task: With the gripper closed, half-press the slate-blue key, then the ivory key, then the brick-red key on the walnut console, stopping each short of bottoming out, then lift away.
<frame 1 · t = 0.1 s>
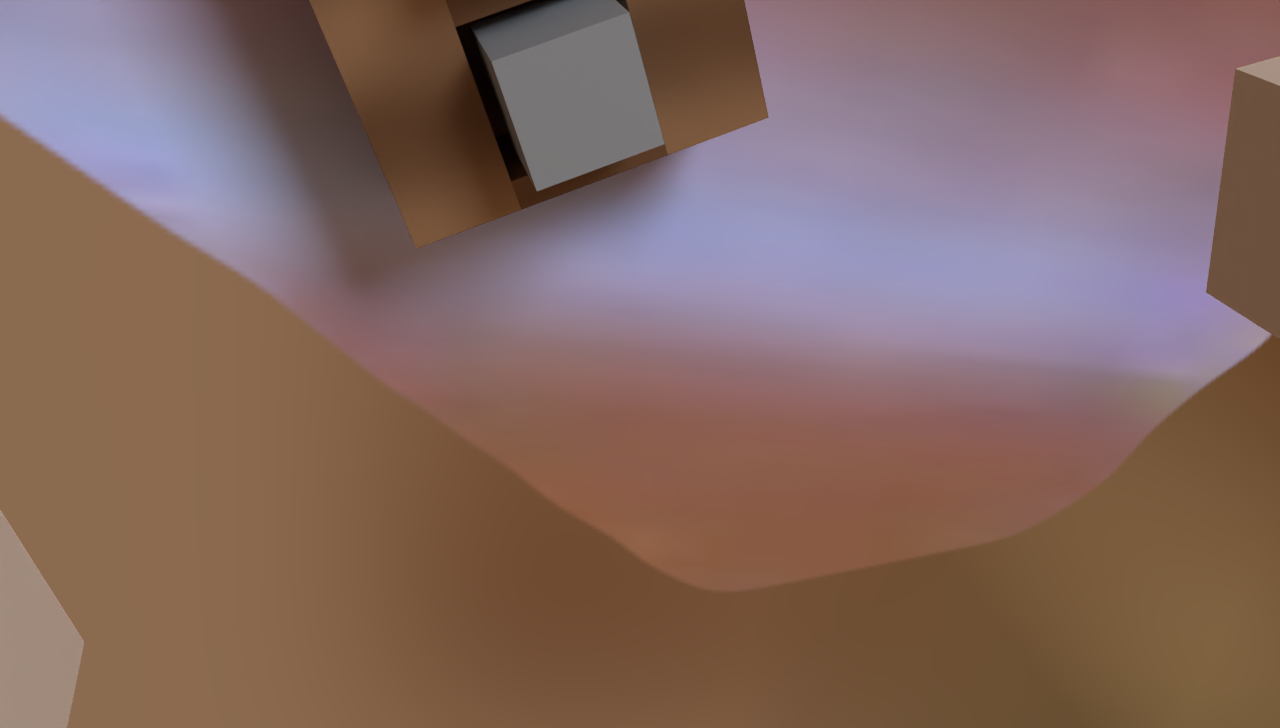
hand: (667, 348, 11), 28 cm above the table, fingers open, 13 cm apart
slate key: (566, 84, 33), point 5 cm above the table, slide at 0.0 cm
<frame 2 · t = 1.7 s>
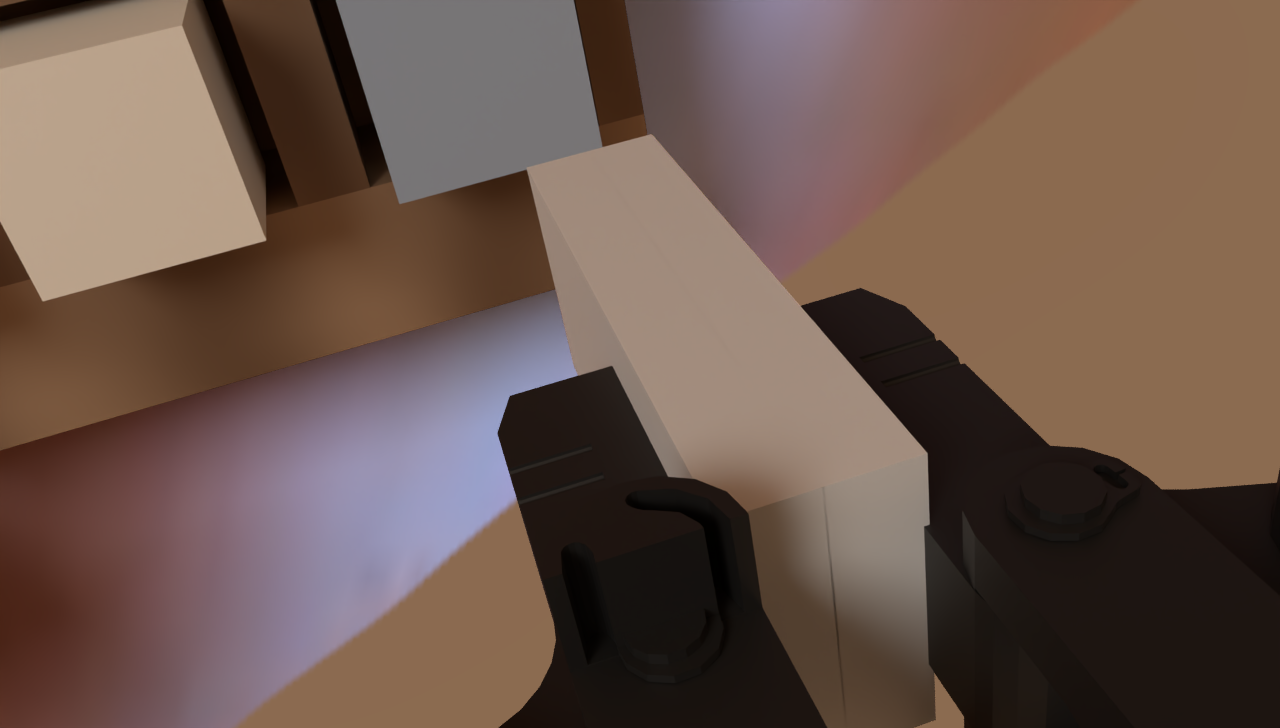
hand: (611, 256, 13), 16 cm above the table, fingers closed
ivory key: (121, 132, 21), point 6 cm above the table, slide at 0.0 cm
slate key: (460, 46, 22), point 5 cm above the table, slide at 0.0 cm
console: (146, 54, 25), on the table
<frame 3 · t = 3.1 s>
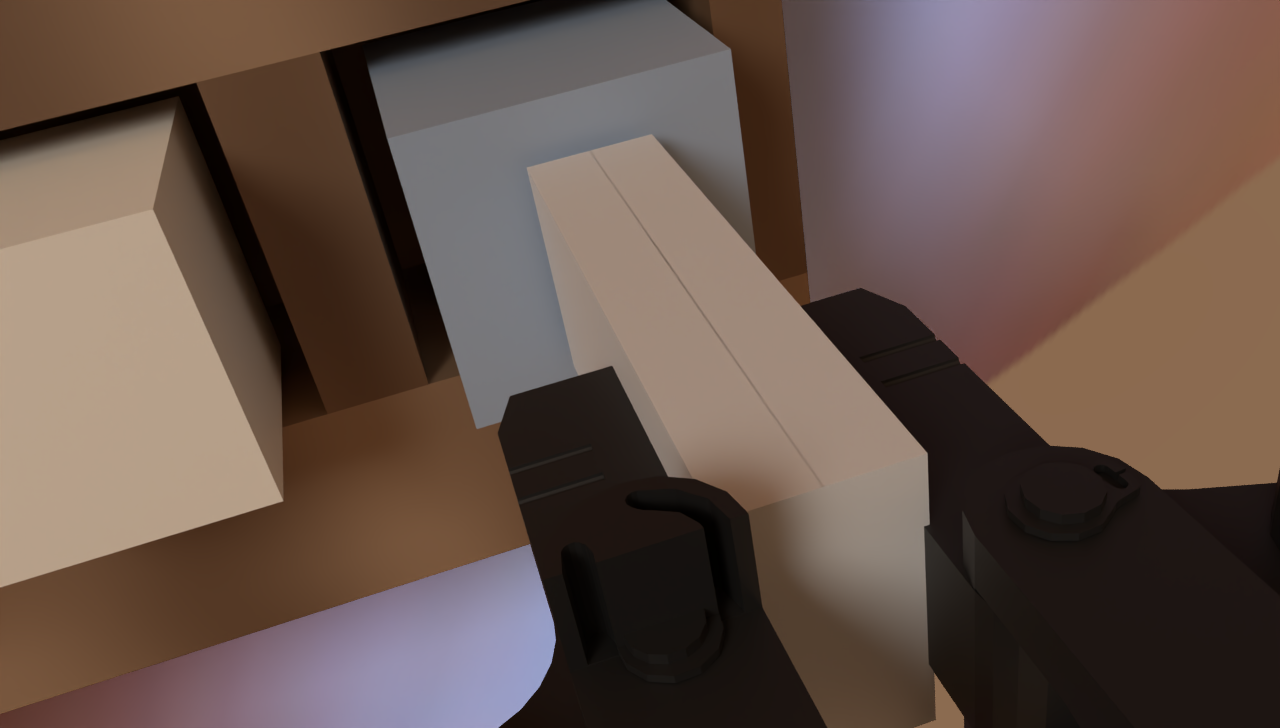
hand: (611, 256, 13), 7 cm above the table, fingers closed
ivory key: (69, 334, 14), point 6 cm above the table, slide at 0.0 cm
slate key: (560, 190, 15), point 5 cm above the table, slide at 0.3 cm, touching gripper
console: (118, 179, 19), on the table
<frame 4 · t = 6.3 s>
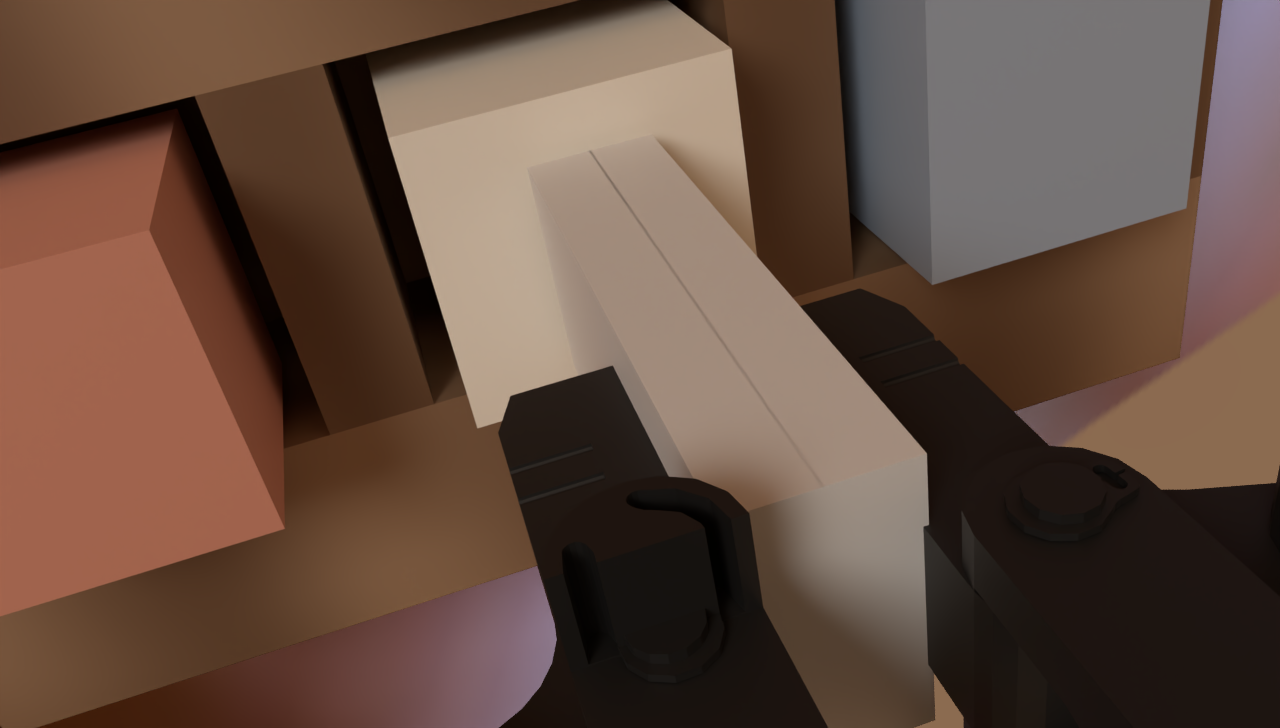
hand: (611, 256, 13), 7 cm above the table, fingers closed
ivory key: (561, 189, 15), point 5 cm above the table, slide at 0.9 cm, touching gripper
slate key: (986, 69, 16), point 5 cm above the table, slide at 1.0 cm
console: (502, 91, 19), on the table
brick key: (63, 355, 14), point 6 cm above the table, slide at 0.0 cm
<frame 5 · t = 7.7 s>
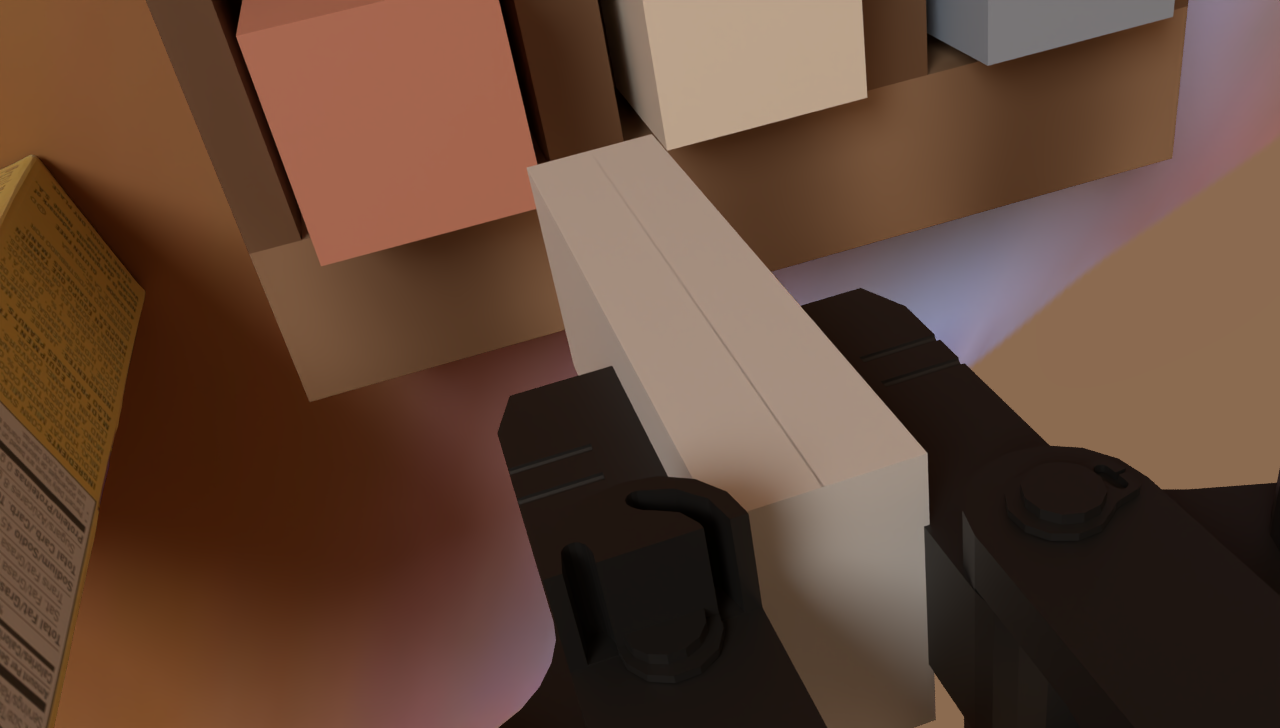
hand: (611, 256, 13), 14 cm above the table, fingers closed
brick key: (394, 90, 20), point 6 cm above the table, slide at 0.0 cm
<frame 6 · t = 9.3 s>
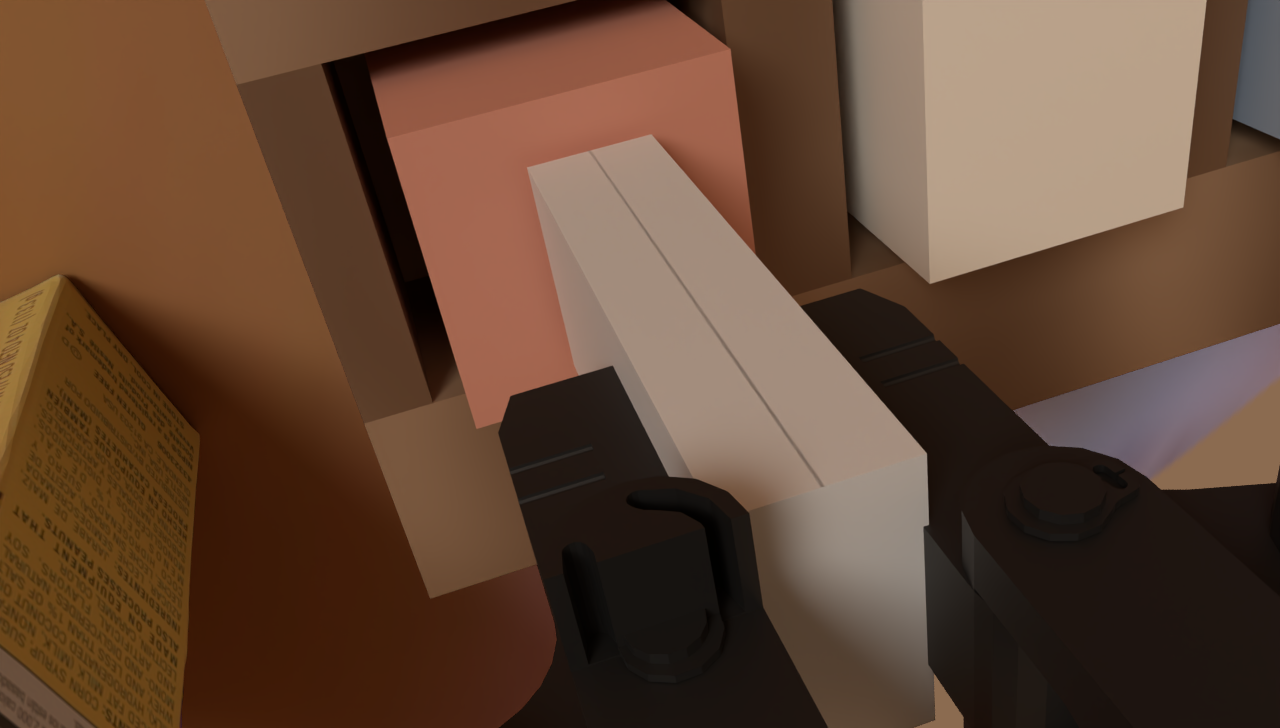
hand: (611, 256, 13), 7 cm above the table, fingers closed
ivory key: (984, 69, 16), point 5 cm above the table, slide at 1.0 cm
console: (851, 0, 20), on the table
brick key: (560, 190, 15), point 5 cm above the table, slide at 0.8 cm, touching gripper
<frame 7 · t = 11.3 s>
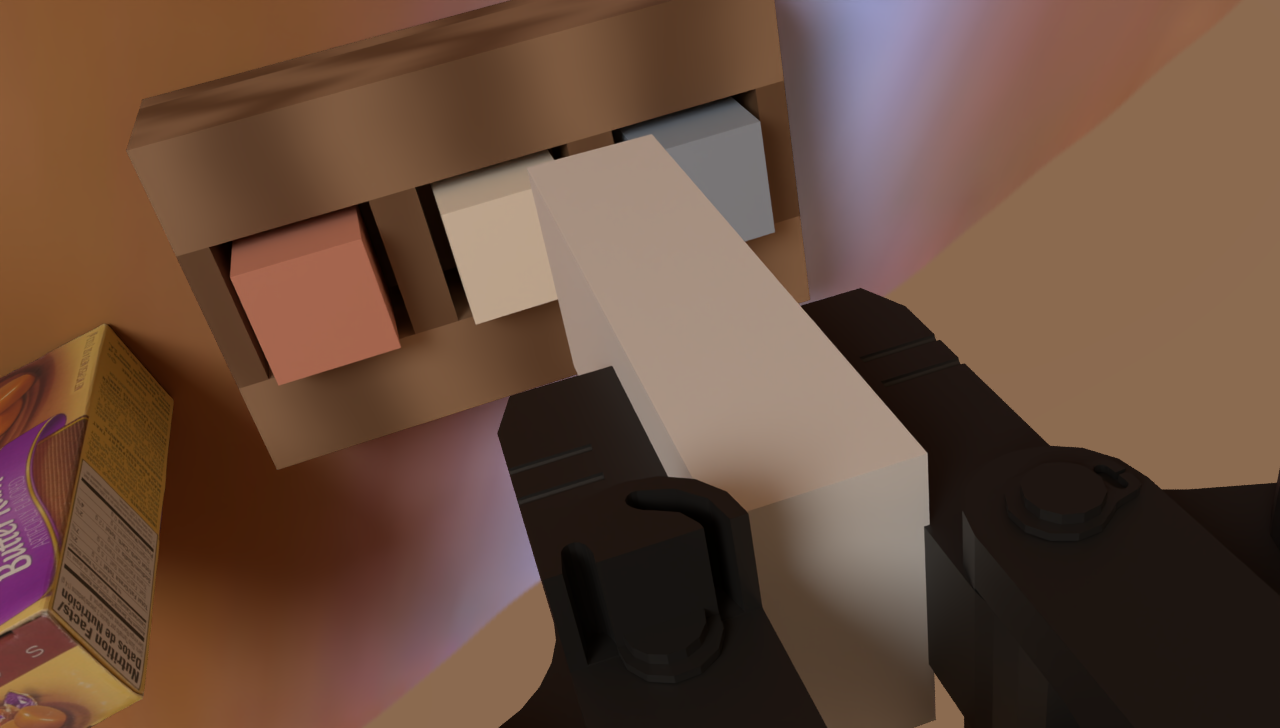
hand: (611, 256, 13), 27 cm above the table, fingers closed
ivory key: (508, 228, 37), point 5 cm above the table, slide at 1.0 cm
candy box: (40, 415, 41), on the table
slate key: (691, 174, 38), point 5 cm above the table, slide at 1.0 cm
console: (486, 180, 41), on the table
brick key: (316, 286, 36), point 5 cm above the table, slide at 1.0 cm
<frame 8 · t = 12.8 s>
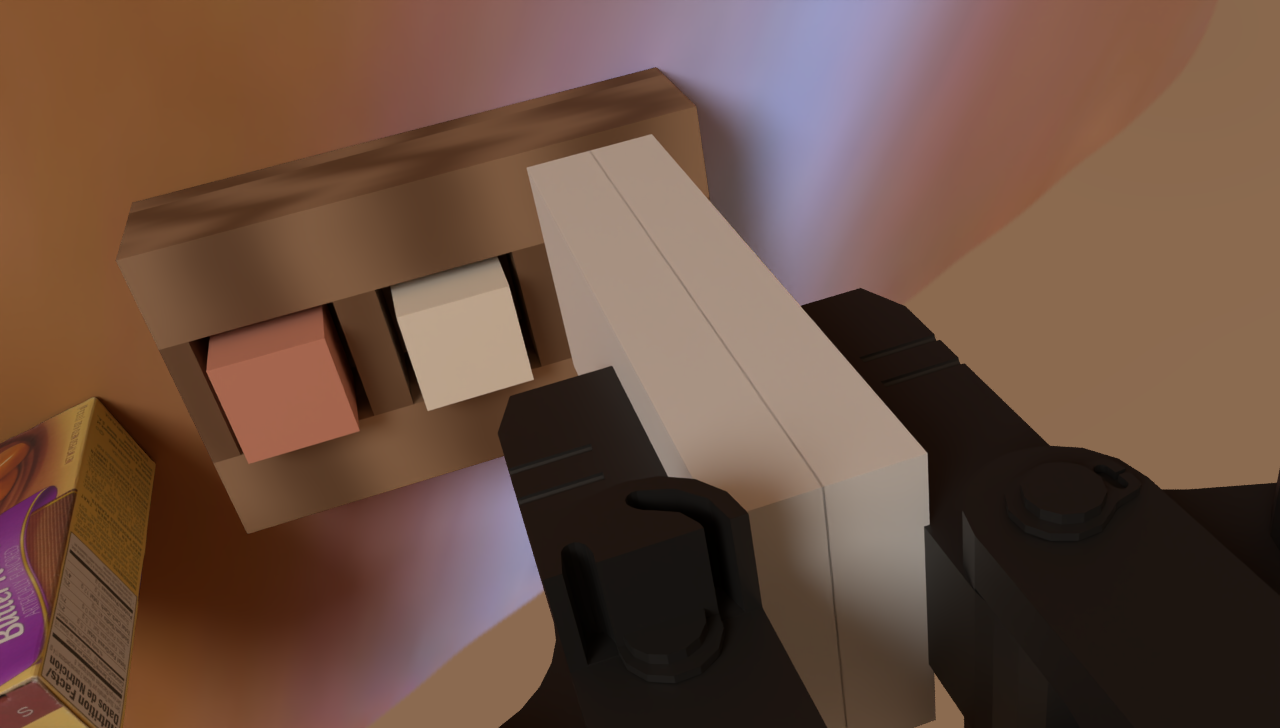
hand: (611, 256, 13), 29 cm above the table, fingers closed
ivory key: (459, 323, 41), point 5 cm above the table, slide at 1.0 cm
candy box: (33, 477, 45), on the table
console: (444, 271, 45), on the table
brick key: (285, 373, 40), point 5 cm above the table, slide at 1.0 cm
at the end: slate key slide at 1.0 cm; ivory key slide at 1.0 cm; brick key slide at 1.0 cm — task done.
